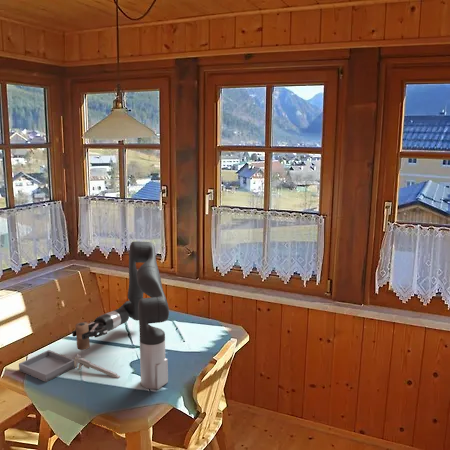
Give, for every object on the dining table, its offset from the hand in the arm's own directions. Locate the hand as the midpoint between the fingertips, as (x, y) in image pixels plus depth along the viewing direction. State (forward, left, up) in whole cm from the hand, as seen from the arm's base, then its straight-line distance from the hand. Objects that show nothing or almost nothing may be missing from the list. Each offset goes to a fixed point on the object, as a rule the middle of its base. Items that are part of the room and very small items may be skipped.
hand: (77, 335), depth 194 cm
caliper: (-14, +4, -11) cm, 18 cm away
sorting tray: (+4, +12, -10) cm, 16 cm away
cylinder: (0, -3, -6) cm, 7 cm away
